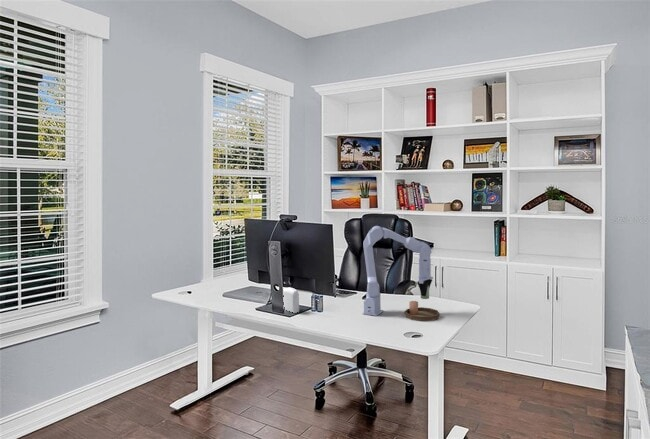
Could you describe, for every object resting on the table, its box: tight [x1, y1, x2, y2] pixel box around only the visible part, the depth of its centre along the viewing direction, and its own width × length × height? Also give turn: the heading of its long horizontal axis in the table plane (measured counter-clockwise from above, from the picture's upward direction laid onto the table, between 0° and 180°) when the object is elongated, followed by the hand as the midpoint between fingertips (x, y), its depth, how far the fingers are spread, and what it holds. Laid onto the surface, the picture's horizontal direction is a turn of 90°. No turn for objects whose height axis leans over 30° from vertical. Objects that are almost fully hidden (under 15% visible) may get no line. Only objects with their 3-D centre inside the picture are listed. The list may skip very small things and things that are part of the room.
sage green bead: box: [420, 286, 430, 300], centre depth 231 cm, size 4×4×6 cm
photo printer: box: [282, 286, 300, 314], centre depth 240 cm, size 10×4×12 cm, turn 39°
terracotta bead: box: [408, 300, 419, 315], centre depth 229 cm, size 4×4×6 cm
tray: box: [404, 306, 440, 322], centre depth 227 cm, size 16×16×2 cm
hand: (424, 294), depth 231 cm, fingers closed on sage green bead, 4 cm apart
